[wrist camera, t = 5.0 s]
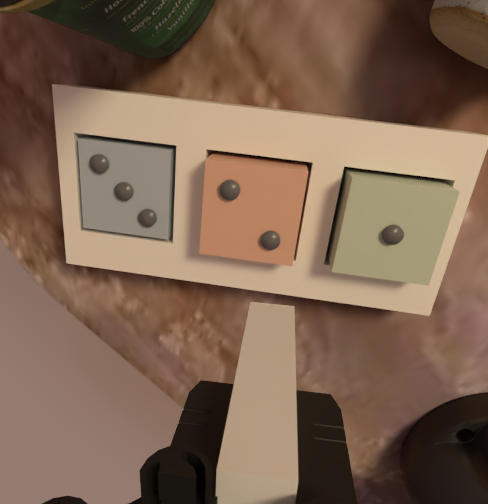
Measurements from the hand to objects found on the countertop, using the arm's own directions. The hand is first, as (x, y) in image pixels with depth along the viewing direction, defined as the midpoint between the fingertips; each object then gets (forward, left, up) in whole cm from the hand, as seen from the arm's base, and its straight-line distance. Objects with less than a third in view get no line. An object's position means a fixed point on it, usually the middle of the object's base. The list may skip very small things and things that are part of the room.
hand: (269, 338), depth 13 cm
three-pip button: (+1, +10, -16) cm, 19 cm away
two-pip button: (+1, +2, -14) cm, 14 cm away
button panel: (+1, +2, -16) cm, 16 cm away
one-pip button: (+1, -7, -14) cm, 16 cm away
